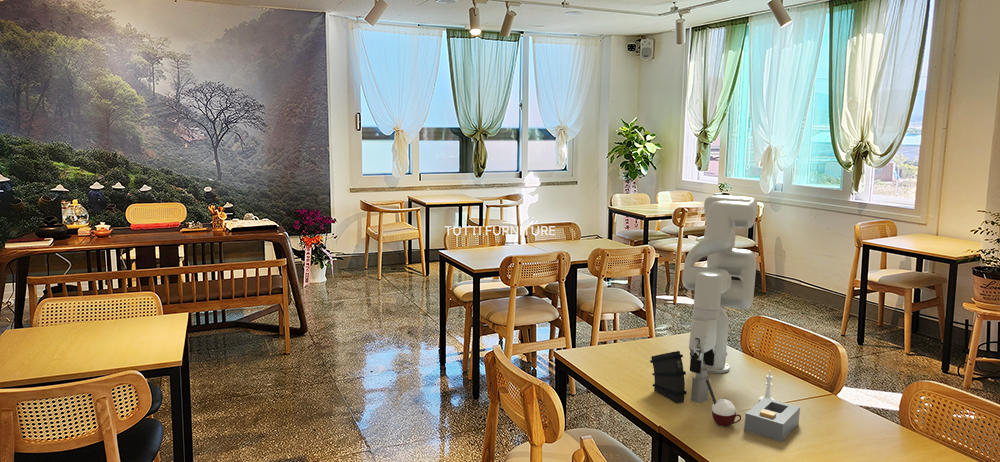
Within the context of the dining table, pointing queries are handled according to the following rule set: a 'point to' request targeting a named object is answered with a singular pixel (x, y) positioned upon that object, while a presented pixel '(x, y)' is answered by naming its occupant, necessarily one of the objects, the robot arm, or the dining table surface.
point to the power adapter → (700, 386)
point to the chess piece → (768, 387)
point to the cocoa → (722, 410)
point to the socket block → (772, 419)
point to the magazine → (669, 376)
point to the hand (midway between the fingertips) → (701, 368)
